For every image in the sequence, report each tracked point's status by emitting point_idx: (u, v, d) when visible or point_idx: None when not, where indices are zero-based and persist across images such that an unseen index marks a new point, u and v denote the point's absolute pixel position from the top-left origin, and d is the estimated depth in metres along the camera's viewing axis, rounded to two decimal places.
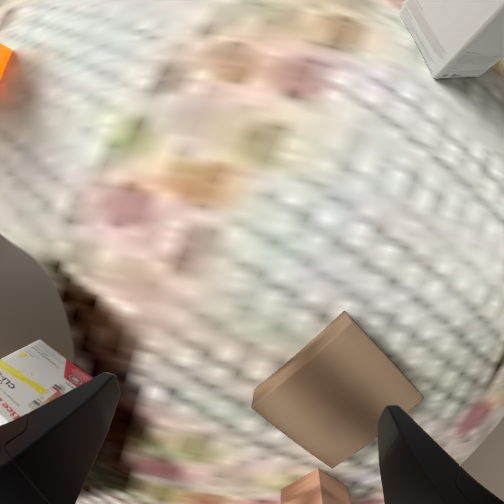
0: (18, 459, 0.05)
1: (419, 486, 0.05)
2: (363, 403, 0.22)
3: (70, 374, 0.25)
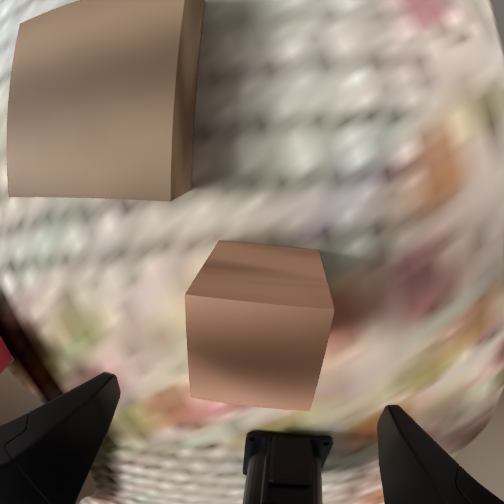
0: (18, 459, 0.05)
1: (419, 486, 0.05)
2: (94, 60, 0.11)
3: None
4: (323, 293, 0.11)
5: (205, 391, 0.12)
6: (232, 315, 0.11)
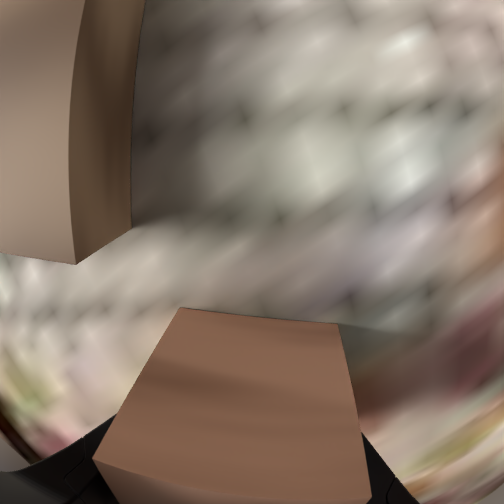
0: (81, 492, 0.04)
1: None
2: None
3: None
4: (351, 451, 0.05)
5: None
6: (180, 496, 0.04)
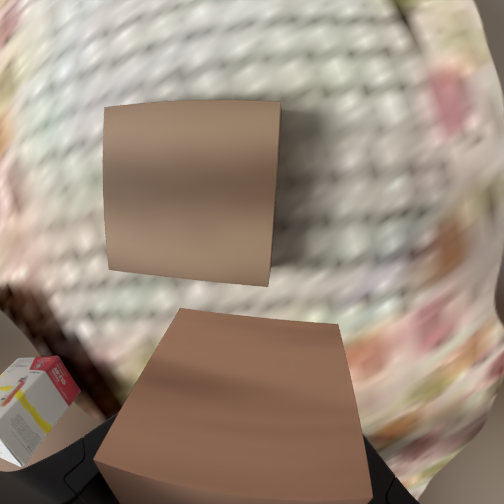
0: (82, 492, 0.04)
1: None
2: (199, 169, 0.16)
3: (34, 365, 0.25)
4: (352, 451, 0.05)
5: None
6: (181, 497, 0.04)
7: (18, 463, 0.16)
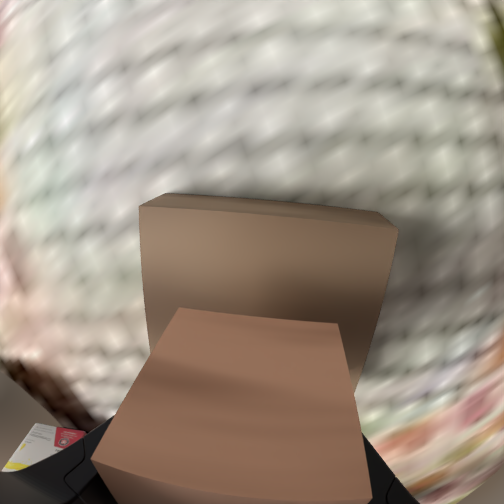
0: (81, 492, 0.04)
1: None
2: (285, 308, 0.13)
3: (59, 440, 0.21)
4: (352, 451, 0.05)
5: None
6: (179, 497, 0.04)
7: None
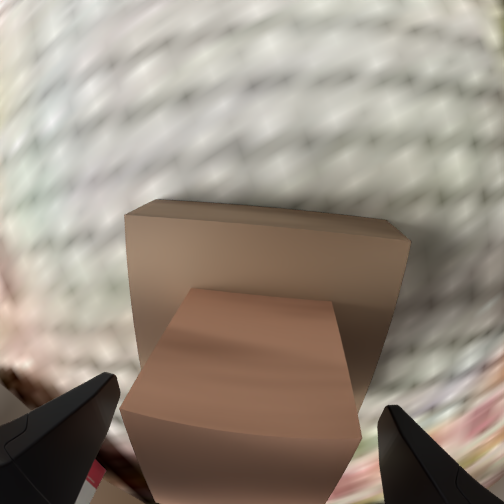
0: (18, 459, 0.05)
1: (419, 486, 0.05)
2: None
3: None
4: (343, 400, 0.06)
5: (173, 500, 0.07)
6: (196, 442, 0.06)
7: None
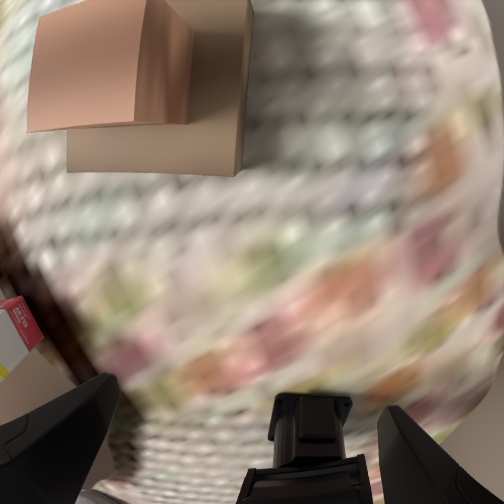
0: (18, 459, 0.05)
1: (419, 486, 0.05)
2: None
3: None
4: None
5: (38, 117, 0.09)
6: (67, 18, 0.08)
7: None
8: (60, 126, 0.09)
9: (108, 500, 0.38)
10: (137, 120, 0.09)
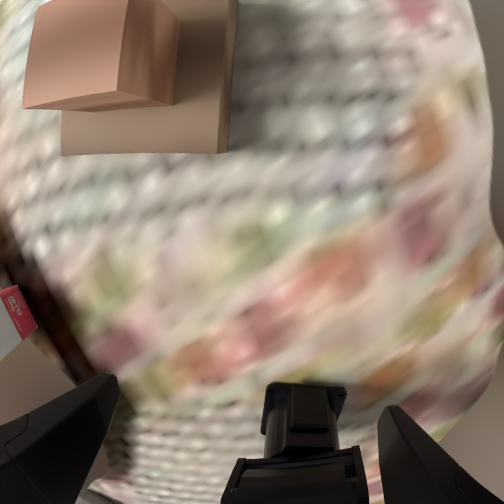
0: (18, 459, 0.05)
1: (419, 486, 0.05)
2: None
3: None
4: None
5: (32, 93, 0.09)
6: (62, 6, 0.08)
7: None
8: (52, 100, 0.09)
9: (104, 500, 0.37)
10: (120, 90, 0.09)
